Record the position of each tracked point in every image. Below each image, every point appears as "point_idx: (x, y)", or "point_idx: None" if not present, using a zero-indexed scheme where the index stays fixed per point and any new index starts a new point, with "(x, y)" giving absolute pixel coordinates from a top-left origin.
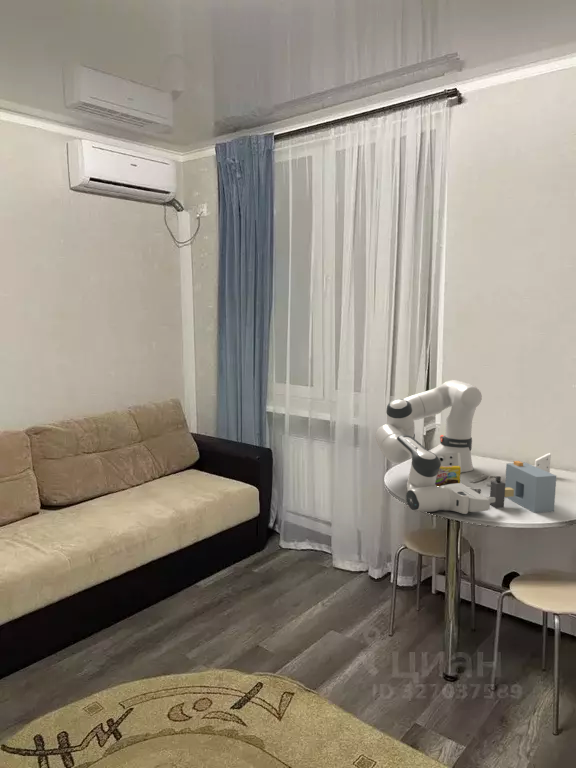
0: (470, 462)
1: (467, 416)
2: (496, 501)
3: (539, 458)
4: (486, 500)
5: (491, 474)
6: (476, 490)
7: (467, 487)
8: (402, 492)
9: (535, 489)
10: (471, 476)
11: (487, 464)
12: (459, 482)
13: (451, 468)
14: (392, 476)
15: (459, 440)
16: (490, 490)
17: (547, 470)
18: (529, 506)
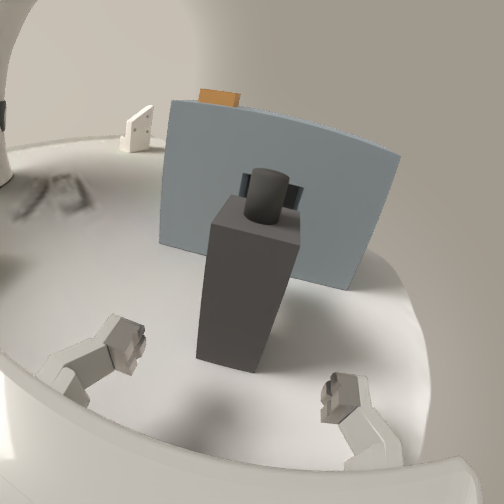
0: (5, 160)
1: (2, 38)
2: (264, 344)
3: (135, 116)
4: (478, 484)
5: (52, 172)
6: (125, 357)
7: (68, 422)
8: None
9: (381, 207)
10: (13, 195)
11: (35, 157)
12: None
13: None
14: None
15: None
16: (204, 292)
17: (147, 137)
18: (323, 272)
